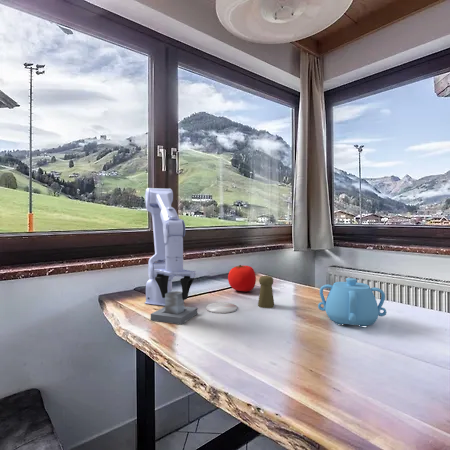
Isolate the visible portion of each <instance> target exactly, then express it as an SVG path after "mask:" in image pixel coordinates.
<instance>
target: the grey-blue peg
mask: <svg viewBox="0 0 450 450" xmlns="http://www.w3.org/2000/svg"><path fill="white" fill-rule="evenodd" d="M184 306H185V300H183V299H182V291H178V290H177V291H176V290H172V291H171V292H168V293H166V294H165V306H164V307H165V313H169V314H177V315H179V314H180V313H182V312H184Z"/></svg>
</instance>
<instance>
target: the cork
mask: <svg viewBox="0 0 450 450" xmlns="http://www.w3.org/2000/svg"><path fill="white" fill-rule="evenodd" d="M258 284H259V285H260V287H259V295H258V302H257V307H259V308H262V309H272V308H275V300H274V292H273V284H274V278H273V277H272V276H270V275H261V276H260V277H259V280H258Z"/></svg>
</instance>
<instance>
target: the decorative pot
mask: <svg viewBox="0 0 450 450" xmlns="http://www.w3.org/2000/svg"><path fill="white" fill-rule="evenodd" d="M357 281H358V279H357V278H353V277H347V278H345V281H335V282H334V283H333V284H328V283H327V284H324V285H322V286H320V288H319V296H320V299H321V302H319V303H318V304H317V307H318V310H320V311H322V312H325V313H326V315H327V316H328V318H329V320H331V321H332V322H335V324H336V323H337V324H336V325H338V324H340V325H339V326H343V325H342V324H345V325H351V326H358V325H360V326H372V325H374V323H376V321H377V320H378V319H379V317H385V316H386V315H387V309H386V308H385V307H383V305H384V303H385V299H386V293H385V292H384V290H382V289H381V288H379V287H371V286H370V285H368V284H367V283H364V282H357ZM324 289H329V291H328V294H327V297H326V298H325V295H324ZM374 292H378V293H380V294H381V296H380V297H381V298H380V300H379V303H378V302H377V299H376V297H375V294H374ZM322 305H323V307H322ZM381 311H383V312H381Z"/></svg>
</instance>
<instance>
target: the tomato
mask: <svg viewBox="0 0 450 450" xmlns="http://www.w3.org/2000/svg"><path fill="white" fill-rule="evenodd" d="M227 280H228V284H229V286H230V287H231V288H232V289H233V290H234V291H235V290H236V291H239V292H251V291H252V290H254V288H255V286H256V283H257V276H256V272H255V269H254V268H253V267H252V266H249V265H241V264H239V265H237V266H233V267H232V268H231V269H230V270H229V272H228V275H227Z"/></svg>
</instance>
